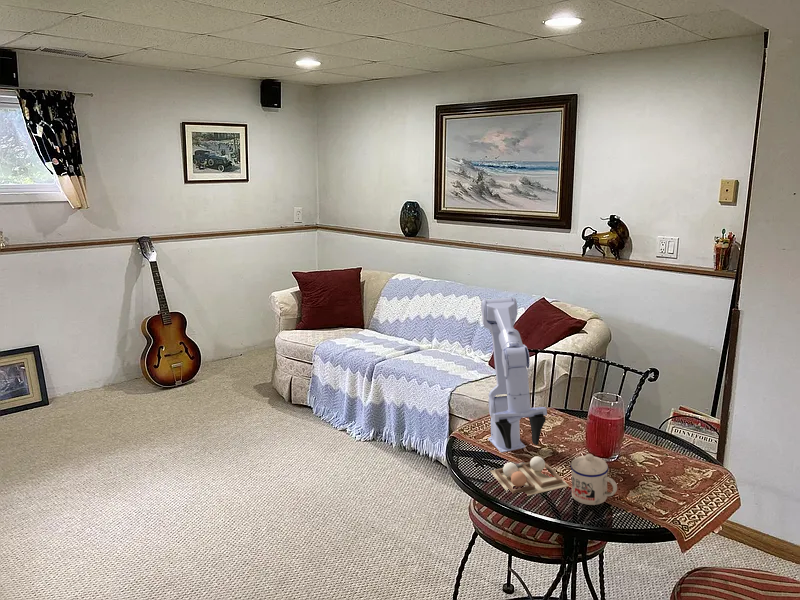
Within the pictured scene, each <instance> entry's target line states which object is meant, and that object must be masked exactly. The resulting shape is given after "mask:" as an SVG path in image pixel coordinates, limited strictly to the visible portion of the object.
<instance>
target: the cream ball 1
mask: <svg viewBox="0 0 800 600" xmlns="http://www.w3.org/2000/svg"><path fill="white" fill-rule="evenodd" d="M515 464H516V463H514V462H509V461H508V462H507V463H505V464H504V466H503V467H502V468H503V473H504V474H505V476H507V477H509V478H511V476H512V474H513V473H514V472H517V471H518V468H517V466H516V465H515Z"/></svg>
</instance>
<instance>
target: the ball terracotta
mask: <svg viewBox="0 0 800 600" xmlns="http://www.w3.org/2000/svg"><path fill="white" fill-rule="evenodd" d="M511 482H512V484H513V485H514V486H516V487H522V486H524V485H525V483H526V476H525V474H524V473H523V472H520V471H517V472H514V473H513V474H512V476H511Z"/></svg>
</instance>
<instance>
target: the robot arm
mask: <svg viewBox="0 0 800 600" xmlns="http://www.w3.org/2000/svg"><path fill="white" fill-rule="evenodd" d="M480 307H481V308H480V309H481V316H482V318H481V319H482V324H483V328H485V329H487V330H489V331H490V332H489V333H490V334H491V339H492V340H491V341H492V349H493V360H494V370H495V379H496V385H495V386H494V387H492V389H490V391H489V393H488V395H487V396H488V411H489V416H490V417H491V418H490V437H488V441H489V442H490V443H491V444H492V445H493V446H494V447H495V448H496V449H497V450H498V451H499V452H500V453H506V452H510V451H515V450H520V449H524V448H526V445H525V444H524V443H523V442H522V441H521V435H520V433H521V429H520V426H521V425H520V420H521V419H524V418H528V420H529V421H528V422H529V425H530V431H531V432H530V433H531V442H532V444H534V445H535V446H537V445H538V446H539V444H540V443H539V442H540V437H541V432H542V430H543V426H544V425H545V423H546V416H548V410H547V407H545V406H539V407H531V397H530V395H531V394H530V386H529V385H530V384H529V383H530V382H529V370H528V369H529V368H530V361H531V359H530V353H529V350H528V349H529V348H528V347H527V345H526V344H523V341H522V337H521V334H520V332H519V330H517V329H515V328H514V325H515V323H516V321H517V316H518V303H517V300H516V298H515V297H514V296H511V297H502V298H501V297H500V298H490V299H486V298H483V299H482V301H481V302H480ZM501 395H503V396H501Z"/></svg>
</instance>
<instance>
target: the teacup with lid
mask: <svg viewBox="0 0 800 600" xmlns="http://www.w3.org/2000/svg"><path fill="white" fill-rule="evenodd" d="M570 468H571V496H572V498H573V499H574V500H575V501H576V502H578V503H580V504H584V505H589V506H595V505H600V504H602V503H604V502H605V501H606V500H607V499H608V497H612V496H614V495H615V494H616V493H617V490H618V486H617V485H618V484H617V482H616V481H615V480H614V479H613V478H612V477H609V476H608V471H609V465H608V463H607V462H606V461H605V460H604V459H602V458H600V457H598V456H594V455H593V454H592V453H587V454H585V455H582V456H577V457H576V458H574V459H573V460H572V461H571V463H570ZM608 483H610V485H611V486H612V492H609V491H608Z"/></svg>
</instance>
